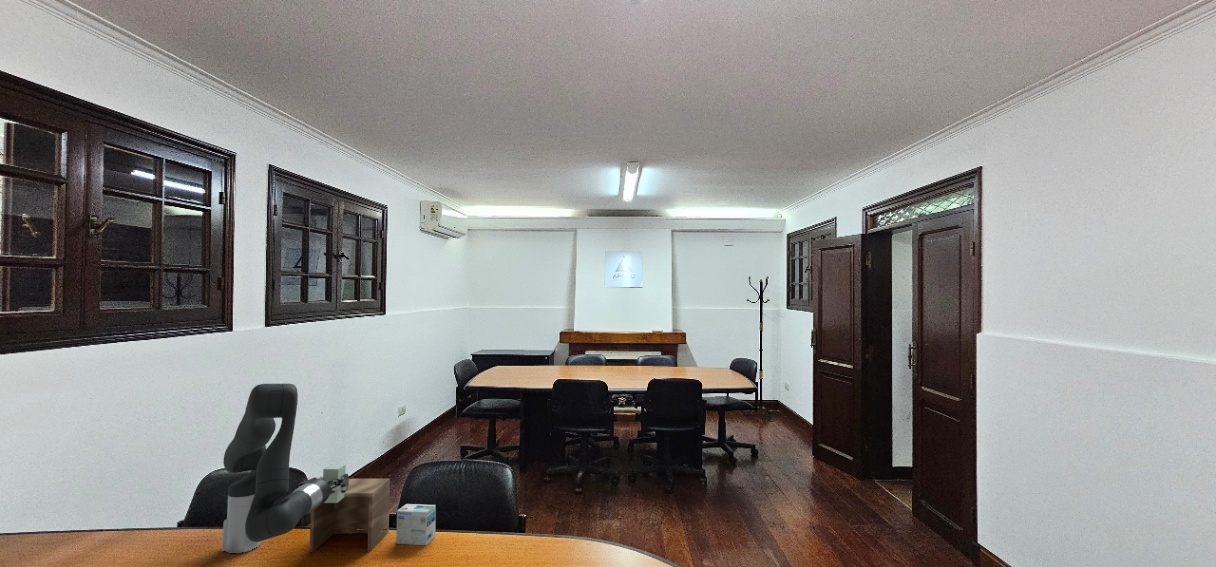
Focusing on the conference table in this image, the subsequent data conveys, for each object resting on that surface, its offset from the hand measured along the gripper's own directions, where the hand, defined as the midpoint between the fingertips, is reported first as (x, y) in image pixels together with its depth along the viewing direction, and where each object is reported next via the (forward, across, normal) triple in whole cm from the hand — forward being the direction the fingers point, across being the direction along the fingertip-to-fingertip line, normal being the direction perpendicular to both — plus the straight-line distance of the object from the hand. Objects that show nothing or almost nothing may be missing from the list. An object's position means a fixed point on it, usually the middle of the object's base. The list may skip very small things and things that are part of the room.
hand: (338, 476), depth 159 cm
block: (-3, 0, +6) cm, 7 cm away
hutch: (+10, 0, +24) cm, 26 cm away
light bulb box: (+10, -21, +24) cm, 34 cm away
